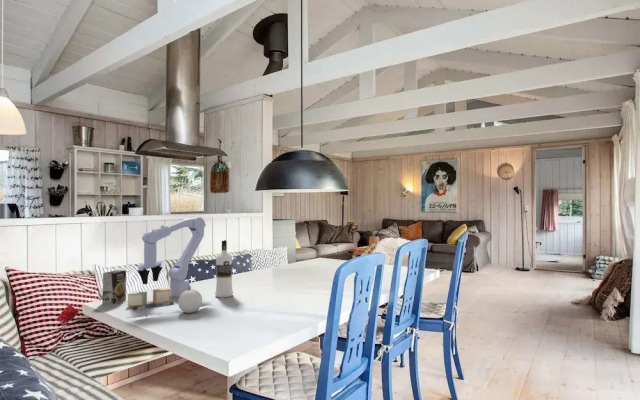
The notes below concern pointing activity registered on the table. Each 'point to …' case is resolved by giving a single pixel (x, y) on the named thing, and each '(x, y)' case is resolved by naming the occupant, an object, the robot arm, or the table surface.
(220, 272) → the vodka
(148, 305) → the tan panel metal trim
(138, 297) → the sage tin
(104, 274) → the coffee box
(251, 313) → the table surface
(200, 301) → the ornament
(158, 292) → the salmon rectangular block
